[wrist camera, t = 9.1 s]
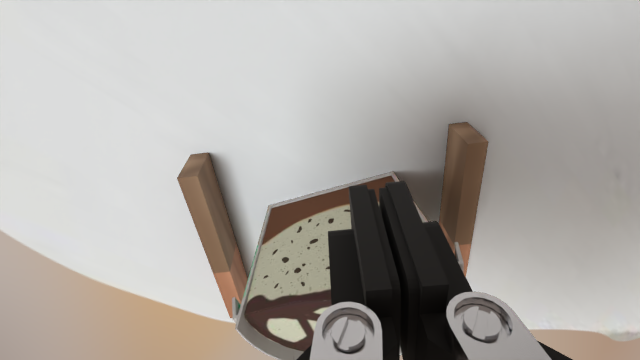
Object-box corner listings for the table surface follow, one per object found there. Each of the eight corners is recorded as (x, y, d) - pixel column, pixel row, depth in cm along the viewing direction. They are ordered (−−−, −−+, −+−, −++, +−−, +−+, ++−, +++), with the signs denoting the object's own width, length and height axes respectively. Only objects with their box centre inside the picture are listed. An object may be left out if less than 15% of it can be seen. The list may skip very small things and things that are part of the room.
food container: (278, 266, 29) (269, 392, 20) (249, 210, 26) (225, 331, 17) (424, 229, 27) (481, 347, 19) (413, 165, 24) (475, 271, 16)
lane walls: (466, 122, 23) (488, 141, 20) (449, 263, 30) (463, 291, 27) (190, 154, 23) (177, 178, 20) (236, 288, 30) (230, 318, 27)
